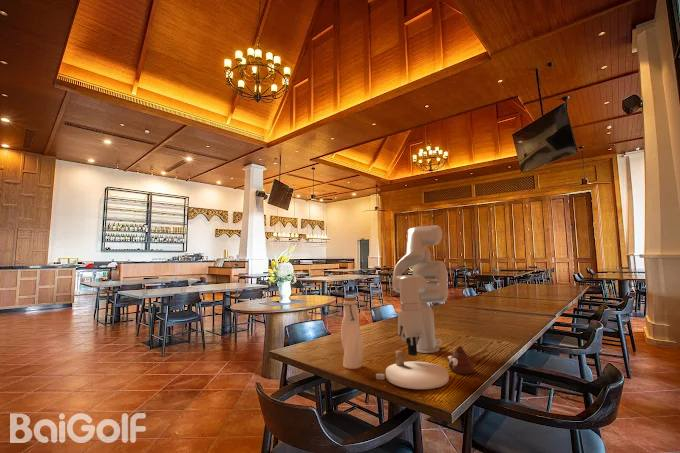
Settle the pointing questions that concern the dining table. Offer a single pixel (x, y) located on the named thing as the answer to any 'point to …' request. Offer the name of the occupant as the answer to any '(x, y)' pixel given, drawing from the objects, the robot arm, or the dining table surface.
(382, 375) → the pointer
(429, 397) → the dining table surface
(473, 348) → the dining table surface
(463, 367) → the poop emoji
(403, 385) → the turntable
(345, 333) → the water bottle
